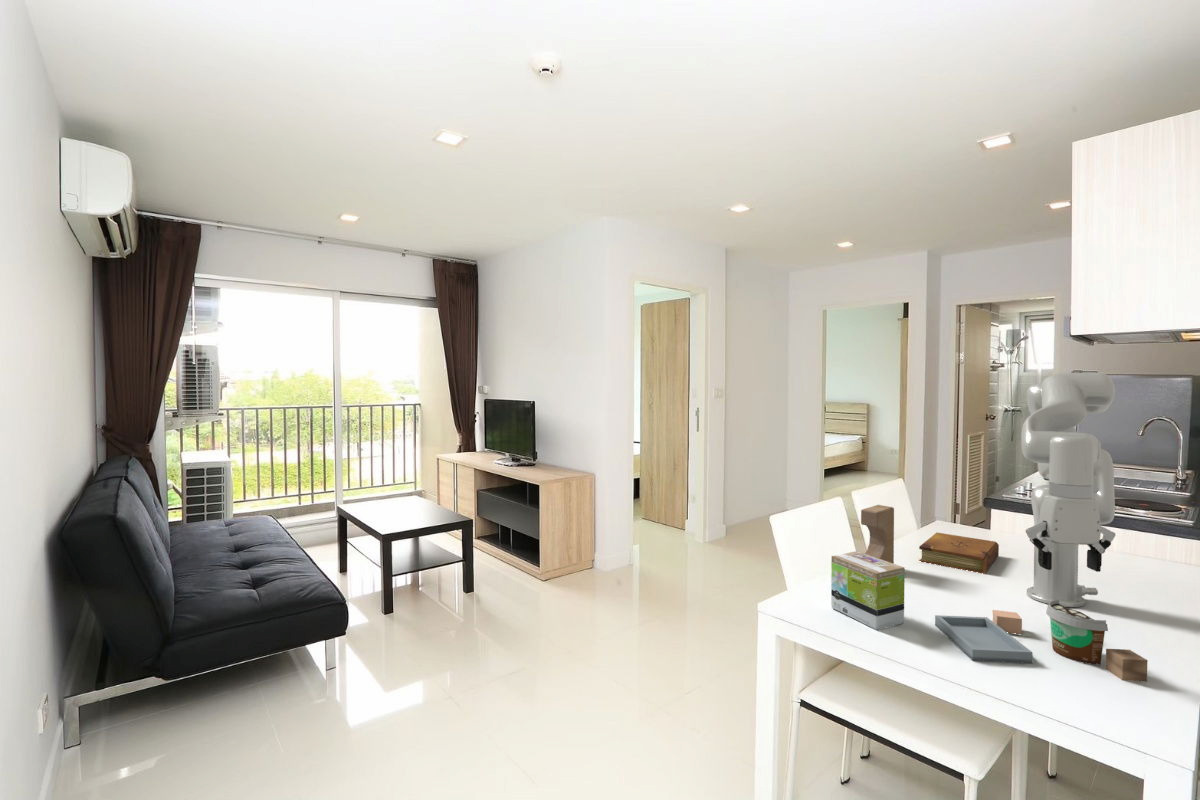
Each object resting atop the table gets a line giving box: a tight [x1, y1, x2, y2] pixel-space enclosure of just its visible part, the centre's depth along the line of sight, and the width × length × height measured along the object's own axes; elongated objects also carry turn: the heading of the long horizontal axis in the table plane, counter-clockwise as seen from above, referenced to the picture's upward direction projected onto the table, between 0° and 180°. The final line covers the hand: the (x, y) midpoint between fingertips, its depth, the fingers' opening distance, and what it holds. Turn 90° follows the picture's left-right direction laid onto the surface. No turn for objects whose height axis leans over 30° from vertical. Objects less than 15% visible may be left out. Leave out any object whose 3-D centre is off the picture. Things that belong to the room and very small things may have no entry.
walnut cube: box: [1105, 648, 1148, 683], centre depth 117 cm, size 4×4×4 cm
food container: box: [1045, 600, 1109, 665], centre depth 126 cm, size 12×6×10 cm, turn 5°
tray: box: [934, 615, 1034, 664], centre depth 132 cm, size 12×18×2 cm, turn 172°
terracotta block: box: [992, 609, 1023, 635], centre depth 139 cm, size 5×4×4 cm
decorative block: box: [860, 504, 895, 564], centre depth 182 cm, size 11×6×20 cm, turn 126°
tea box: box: [830, 550, 906, 631], centre depth 148 cm, size 15×10×15 cm, turn 23°
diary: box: [918, 532, 1000, 575], centre depth 192 cm, size 23×19×6 cm
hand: (1069, 568), depth 125 cm, fingers open, 9 cm apart
